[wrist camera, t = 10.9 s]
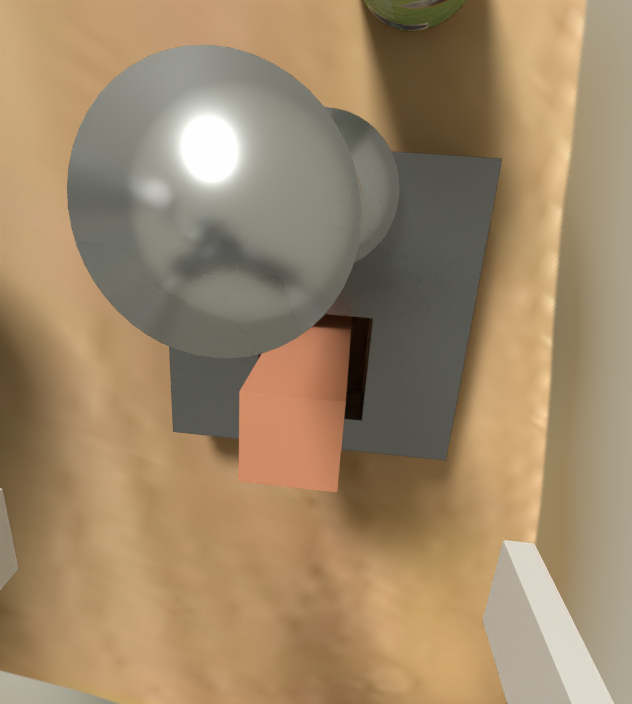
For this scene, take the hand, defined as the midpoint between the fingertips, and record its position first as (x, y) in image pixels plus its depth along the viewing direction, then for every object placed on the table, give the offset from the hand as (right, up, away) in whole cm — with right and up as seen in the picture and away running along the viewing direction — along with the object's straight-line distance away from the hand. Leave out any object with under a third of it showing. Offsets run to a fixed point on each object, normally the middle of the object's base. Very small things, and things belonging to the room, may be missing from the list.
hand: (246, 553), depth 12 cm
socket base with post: (+2, +9, +16) cm, 18 cm away
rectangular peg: (+2, +6, +17) cm, 18 cm away
